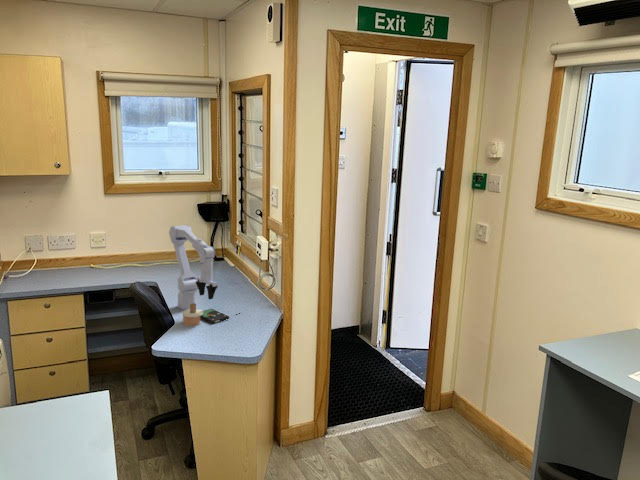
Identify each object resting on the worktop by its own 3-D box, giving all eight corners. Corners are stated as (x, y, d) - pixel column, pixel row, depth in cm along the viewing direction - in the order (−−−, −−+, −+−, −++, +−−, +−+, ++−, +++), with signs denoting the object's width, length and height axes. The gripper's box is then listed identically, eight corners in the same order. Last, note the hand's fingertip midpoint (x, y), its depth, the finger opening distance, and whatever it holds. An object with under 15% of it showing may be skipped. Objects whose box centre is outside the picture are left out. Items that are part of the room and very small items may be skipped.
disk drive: (229, 321, 257) (211, 313, 266) (229, 316, 256) (211, 308, 266) (212, 326, 249) (194, 317, 258) (212, 320, 248) (194, 312, 258)
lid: (178, 313, 249) (178, 303, 248) (195, 308, 257) (195, 299, 256) (189, 318, 243) (189, 309, 242) (207, 314, 250) (207, 305, 249)
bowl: (179, 322, 250) (179, 313, 249) (193, 318, 256) (193, 310, 255) (189, 327, 245) (189, 318, 244) (203, 323, 251) (203, 314, 250)
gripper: (191, 268, 257) (191, 294, 260) (208, 275, 247) (208, 302, 250) (203, 266, 262) (203, 292, 265) (220, 273, 252) (219, 299, 255)
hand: (206, 296), depth 258 cm, fingers open, 7 cm apart
